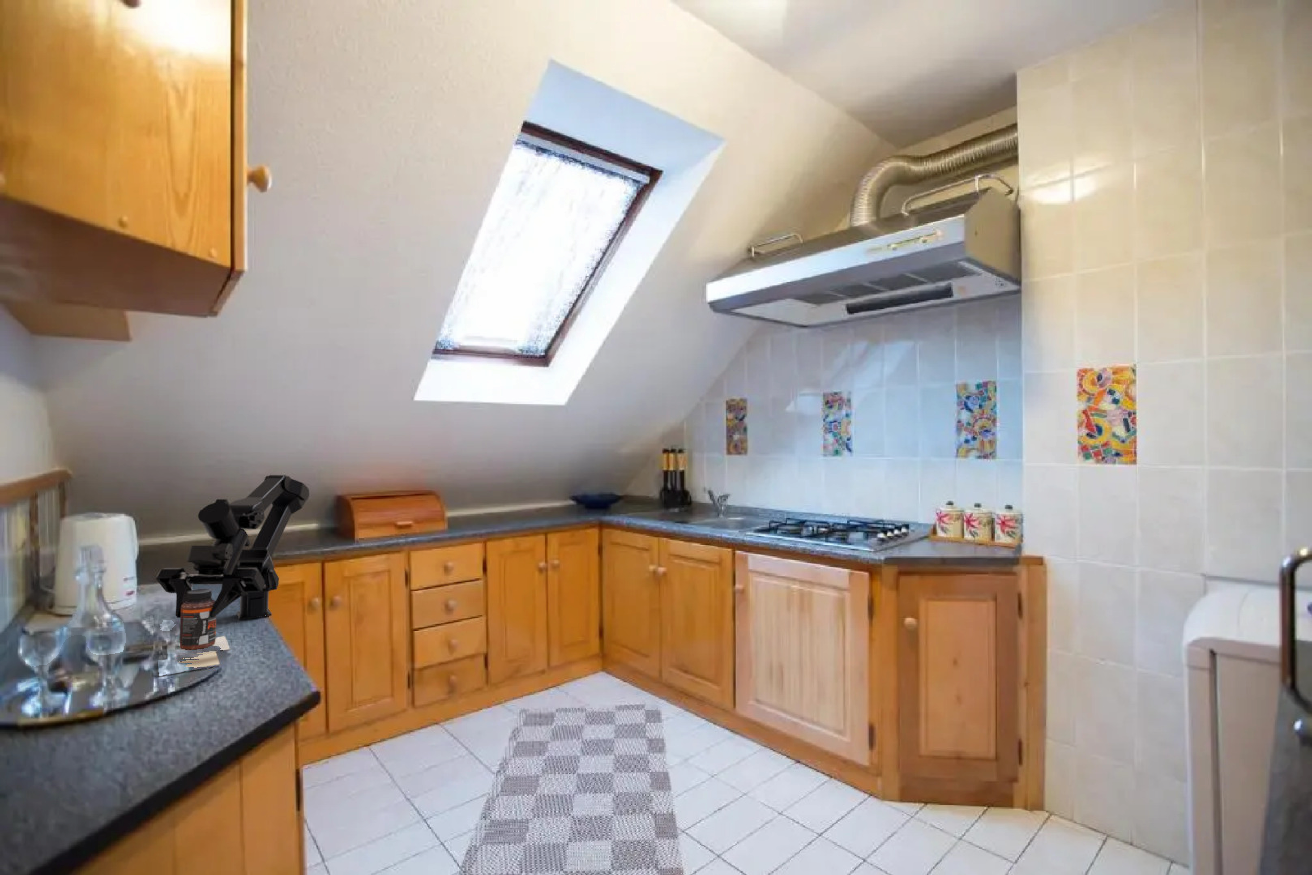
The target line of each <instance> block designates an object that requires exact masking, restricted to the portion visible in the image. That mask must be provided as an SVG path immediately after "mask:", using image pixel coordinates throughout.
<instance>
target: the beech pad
mask: <svg viewBox="0 0 1312 875" xmlns="http://www.w3.org/2000/svg"><path fill="white" fill-rule="evenodd" d="M197 654H203V655H199V656H198V657H194V658H191V659H199V660H186V661H182V662H180V661H179V663H192V664H187V665H186V667H194V668H197V667H207V666H214V665H220V661H219V660H220V659H219V657H218V654H217V651H209V652H203V653H197ZM183 659H184V658H183ZM185 659H190V658H185ZM220 666H221V665H220Z"/></svg>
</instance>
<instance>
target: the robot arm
mask: <svg viewBox="0 0 1312 875" xmlns="http://www.w3.org/2000/svg"><path fill="white" fill-rule="evenodd" d="M309 497H310V488H309V487H307V485H305V483H303V482H301V481H299V480H296V479H293V478H292V477H291V476H289V475H286V474H270V475H266V476H265V477H264V480H263V481H262V482H261V483H260V484H259V485H258V486H257V487H256V488H255V489H254V490H253V491H252V492H250V493H249V495H247V496H246V497H245V498H241V499H238V500H234V501H232V502H230V503H229V501H228V499H227V498H225V499H224V498H221V499H220V498H217V499H216V500H215V502H214V503H210V504H208V505H206V506H205V507H203V508H202V509H200V510H199V512H198V515H197V518H198V520H199V522H200V523H201V525H202V526H203V528H204V530H205V532H206V533H207V534H208V536H209V537H210V538H212V539H214V541H213V543H212V545H191V546H190V550H189V553H188V557H187V561H186V562H188V563H192V564H194V566H193V569H194V570H195V571H196V572H197V571H198V573H197V574H196V573H194V574H193V573H192V574H190V573H188V572H186V569H184V568H183V567H164V568H161V569H160V570H159V572H157V575H156V577H155V580H156V582H158V584H160V586H161V587H162V588H163V590H164V591H165V593H166V592H167V593H168V594H176V600H175V617H176V618H177V619H181V606H182V604H183V603H185V602H186V601H187V600H188V599H187V593H188V591H191V590H193V589H192V588H193V587H194V585H204V586H205V585H206V586H208V585H209V586H210V585H212V586H213V585H214V586H215V585H217V586H218V585H219V586H220V585H221V589H220V592H219V594H218V595H217V597H216V599H215V603H214V605H213V608H212V610H211V613H210V616H211V617H215V616H216V617H217V616H218V615H219V614H220V613H221V612H222V611H223V610H225V609H226V608H227V607H228V606H229V605H230V604H232V603H234V602H236V601H237V600H238V599H239V598H240V600H239V604H240V605H239V611H236V616H237V617H238V619H239V621H241V620H250V619H258V618H264V617H271V616H272V615H273V613H272V612H271V611H270V609H269V596H270V595H269V593H270V592H271V591H274V590H277V589H278V588H279V583H280V582H279V581H280V577H279V576H278V574H277V572H276V570H275V565H274V562H273V560H272V556H273V554H274V552H275V551H276V547H277V546H278V544H279V542H280V540H281V537H282V536H283V534H284V531H285V529H286V527H287V524H288V522H289V520H290V518H291V516H292V515H293V514H295V513H297V512H298V511H299V510H301V509H303V507H304V505H305V503H306V502H307V501H308V499H309ZM271 505H272V506H271ZM270 506H271V508H270V509H269V512H268V514H267V515H266V518H265V511H266V510H267V509H268V508H269V507H270ZM261 524H262V526H261ZM260 526H261V528H260V530H259V532H258V533H257V535H256V537H255V539H254V541H253V544H252V546H251V542H250V539H249V535H248V532H247V531H246V530H258V528H259V527H260ZM245 547H250V548H249V549H244V548H245ZM265 615H266V616H265Z"/></svg>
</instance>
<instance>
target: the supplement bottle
mask: <svg viewBox="0 0 1312 875" xmlns="http://www.w3.org/2000/svg"><path fill="white" fill-rule="evenodd" d="M212 592H213V591H212V589H210V588H198V589H192V590H191V591H188V593H187V599H188V600H187V601H186V602H185V603H183V604H182V606H181V617H180V618H179V619H180V623H179V624H180V626H179V643H180V648H181V649H185V650H197V649H204V648H208V647H210V646H212V645H214V644H215V639H216V637H217V634H216V632H217V615H216V616H215V617H211V616H210V613H211V610H212V608H213V605H214V603H215V601H216V599H213V598H212Z"/></svg>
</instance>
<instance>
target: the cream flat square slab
mask: <svg viewBox="0 0 1312 875" xmlns="http://www.w3.org/2000/svg"><path fill="white" fill-rule="evenodd" d="M212 646H219V647H220V648H221V649H220V650H223V651H228V650H230V649H231V647H230V646H229V643H228V640H227V638H226V635H223V636H218V637H217V636H216V639H215V644H214V645H212Z"/></svg>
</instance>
